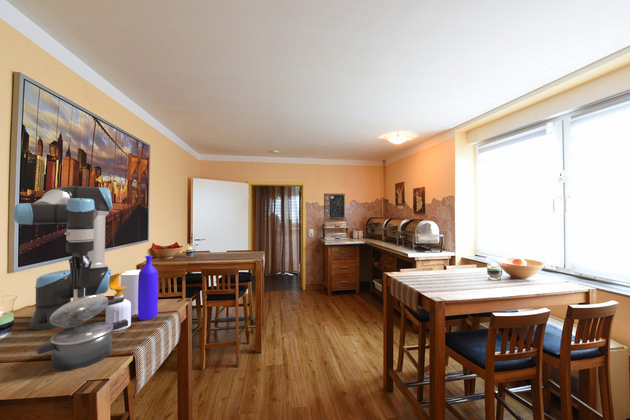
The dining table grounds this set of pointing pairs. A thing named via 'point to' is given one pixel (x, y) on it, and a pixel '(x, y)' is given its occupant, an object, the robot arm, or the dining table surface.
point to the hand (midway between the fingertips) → (79, 305)
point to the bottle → (148, 291)
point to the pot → (81, 345)
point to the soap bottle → (118, 304)
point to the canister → (131, 288)
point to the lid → (81, 310)
